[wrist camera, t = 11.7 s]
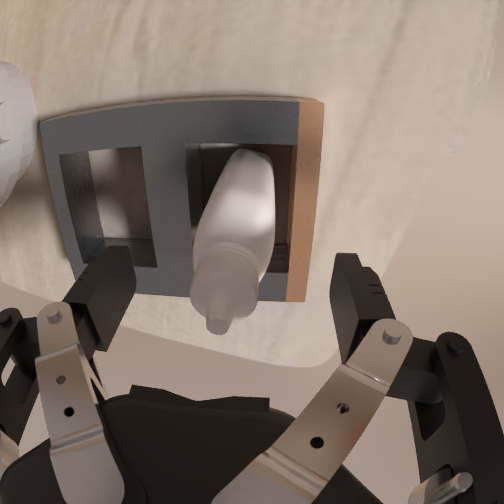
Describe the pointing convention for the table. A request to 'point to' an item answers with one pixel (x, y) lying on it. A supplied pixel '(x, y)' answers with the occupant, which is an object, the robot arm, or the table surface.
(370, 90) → the table surface
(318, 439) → the robot arm
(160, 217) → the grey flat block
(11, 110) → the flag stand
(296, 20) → the table surface
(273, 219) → the eye dropper bottle
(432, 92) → the table surface
